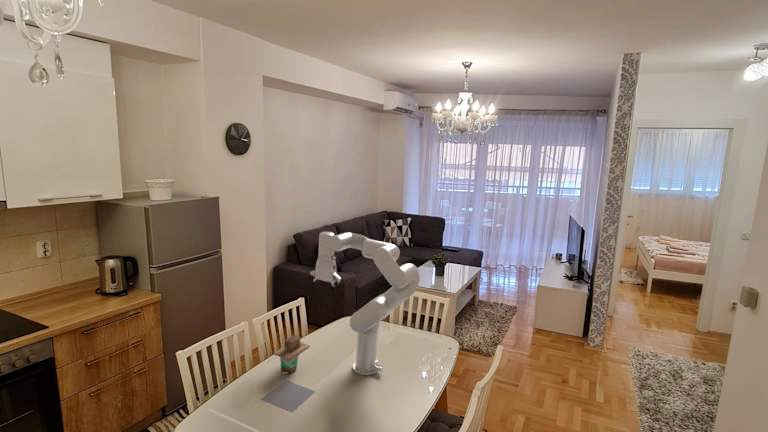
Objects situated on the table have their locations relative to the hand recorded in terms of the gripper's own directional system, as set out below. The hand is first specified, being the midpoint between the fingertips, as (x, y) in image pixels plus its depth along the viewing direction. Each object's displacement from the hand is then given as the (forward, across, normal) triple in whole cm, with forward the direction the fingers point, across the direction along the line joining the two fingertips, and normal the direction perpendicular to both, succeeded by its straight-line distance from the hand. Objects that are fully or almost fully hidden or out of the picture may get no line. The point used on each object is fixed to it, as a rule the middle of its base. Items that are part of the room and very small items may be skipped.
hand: (324, 291), depth 199 cm
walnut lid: (+23, +3, +20) cm, 31 cm away
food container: (+34, +3, +20) cm, 39 cm away
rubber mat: (+33, -8, +36) cm, 50 cm away
